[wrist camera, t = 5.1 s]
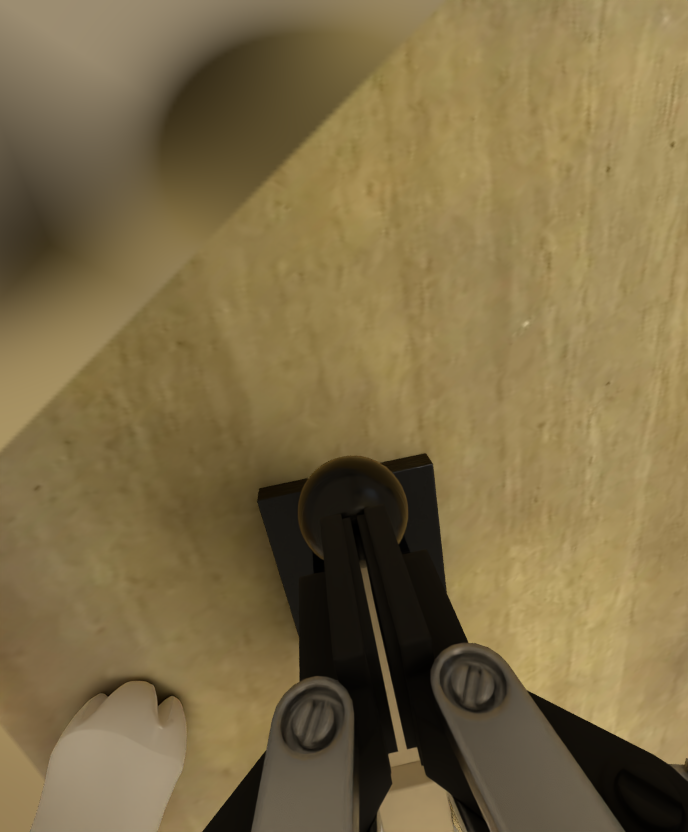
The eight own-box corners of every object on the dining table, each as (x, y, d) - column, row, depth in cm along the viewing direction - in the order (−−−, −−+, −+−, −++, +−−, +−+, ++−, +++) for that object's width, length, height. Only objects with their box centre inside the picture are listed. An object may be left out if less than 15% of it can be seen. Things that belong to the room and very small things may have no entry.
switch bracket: (258, 488, 22) (214, 775, 10) (426, 452, 22) (578, 690, 10) (306, 647, 26) (315, 971, 14) (444, 615, 27) (563, 909, 15)
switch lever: (290, 455, 13) (282, 490, 10) (387, 434, 13) (409, 463, 10) (364, 778, 16) (376, 887, 13) (446, 759, 16) (478, 862, 13)
